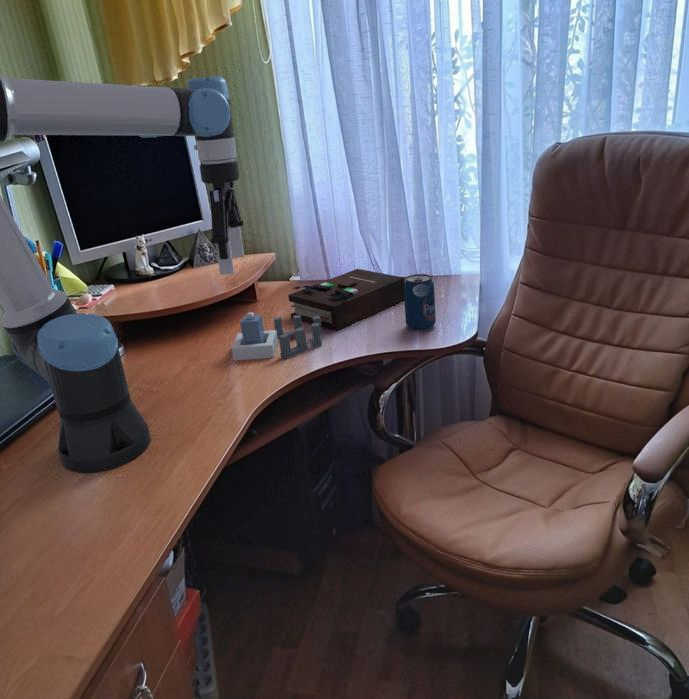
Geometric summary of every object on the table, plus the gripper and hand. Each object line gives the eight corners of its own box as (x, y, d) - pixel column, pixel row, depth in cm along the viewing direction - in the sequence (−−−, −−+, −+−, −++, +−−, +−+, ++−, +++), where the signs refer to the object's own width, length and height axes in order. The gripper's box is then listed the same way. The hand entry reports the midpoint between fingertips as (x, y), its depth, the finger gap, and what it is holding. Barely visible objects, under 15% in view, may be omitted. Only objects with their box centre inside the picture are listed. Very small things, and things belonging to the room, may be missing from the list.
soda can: (432, 332, 151) (430, 282, 146) (402, 331, 153) (399, 282, 149) (438, 321, 157) (436, 273, 152) (410, 320, 159) (407, 273, 155)
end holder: (233, 360, 147) (231, 348, 145) (240, 345, 155) (238, 333, 154) (273, 357, 146) (271, 345, 145) (278, 342, 154) (276, 330, 153)
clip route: (269, 360, 145) (266, 339, 143) (276, 336, 158) (274, 317, 156) (320, 356, 144) (317, 335, 142) (323, 333, 157) (320, 313, 155)
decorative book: (413, 272, 171) (331, 307, 152) (415, 300, 174) (334, 337, 155) (359, 262, 184) (277, 293, 165) (362, 288, 187) (281, 321, 168)
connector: (263, 354, 149) (257, 316, 145) (245, 355, 149) (239, 317, 145) (266, 347, 152) (260, 309, 149) (249, 348, 153) (243, 310, 149)
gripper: (211, 155, 143) (225, 251, 151) (185, 170, 120) (203, 283, 128) (245, 153, 143) (257, 249, 151) (226, 167, 120) (241, 280, 128)
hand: (232, 265), depth 139 cm, fingers open, 13 cm apart
